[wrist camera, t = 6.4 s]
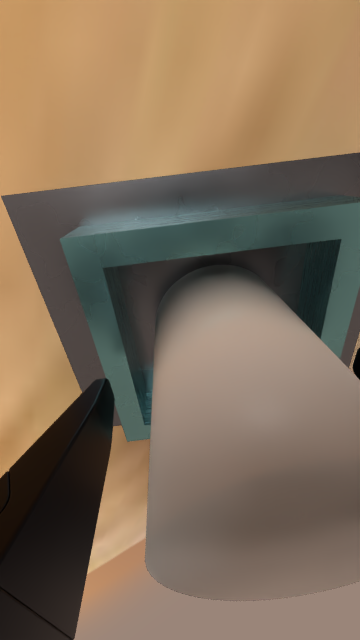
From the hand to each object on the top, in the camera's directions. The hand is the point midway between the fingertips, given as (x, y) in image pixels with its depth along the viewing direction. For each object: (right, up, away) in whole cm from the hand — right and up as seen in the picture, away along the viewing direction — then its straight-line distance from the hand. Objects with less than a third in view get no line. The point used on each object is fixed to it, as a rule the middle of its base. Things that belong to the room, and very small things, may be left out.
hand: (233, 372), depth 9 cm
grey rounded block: (0, +2, +3) cm, 3 cm away
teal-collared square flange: (0, +3, +5) cm, 6 cm away
